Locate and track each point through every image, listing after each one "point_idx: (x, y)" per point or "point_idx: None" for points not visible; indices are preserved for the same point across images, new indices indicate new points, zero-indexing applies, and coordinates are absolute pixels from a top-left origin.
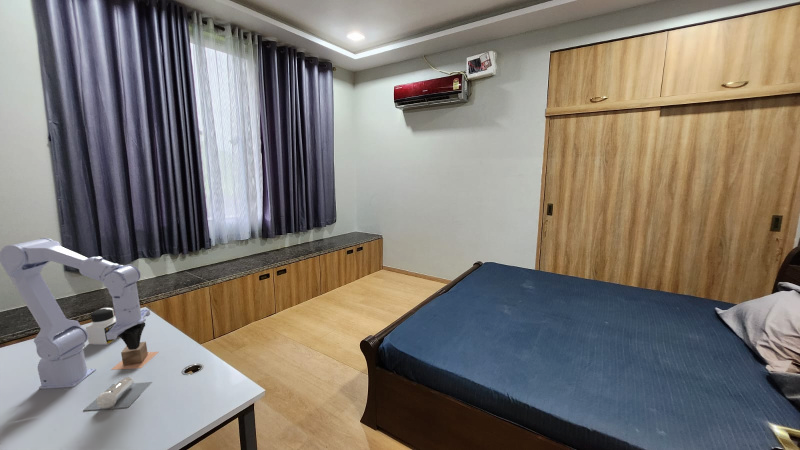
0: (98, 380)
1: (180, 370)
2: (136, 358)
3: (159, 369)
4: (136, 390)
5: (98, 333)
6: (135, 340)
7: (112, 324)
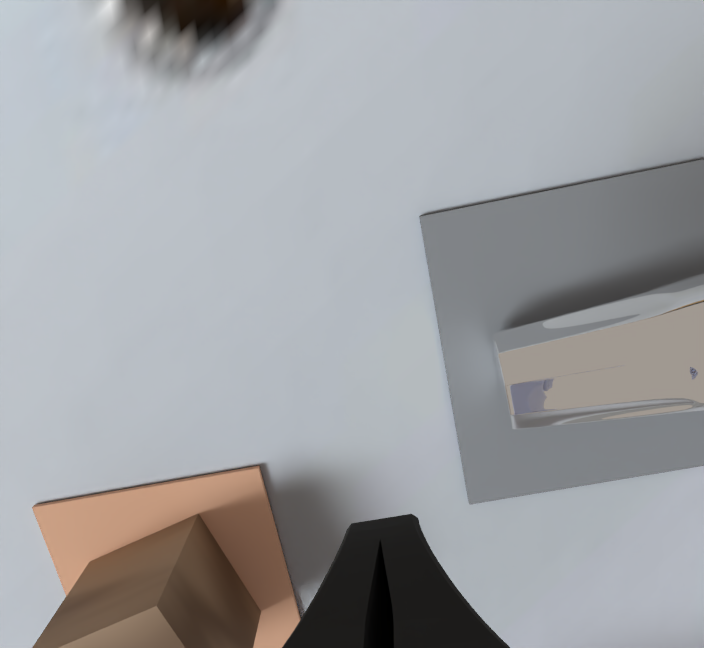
0: None
1: (227, 90)
2: (201, 573)
3: (245, 305)
4: (529, 261)
5: None
6: (457, 599)
7: None
